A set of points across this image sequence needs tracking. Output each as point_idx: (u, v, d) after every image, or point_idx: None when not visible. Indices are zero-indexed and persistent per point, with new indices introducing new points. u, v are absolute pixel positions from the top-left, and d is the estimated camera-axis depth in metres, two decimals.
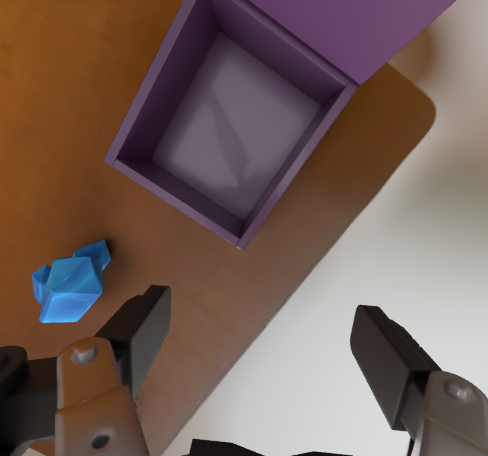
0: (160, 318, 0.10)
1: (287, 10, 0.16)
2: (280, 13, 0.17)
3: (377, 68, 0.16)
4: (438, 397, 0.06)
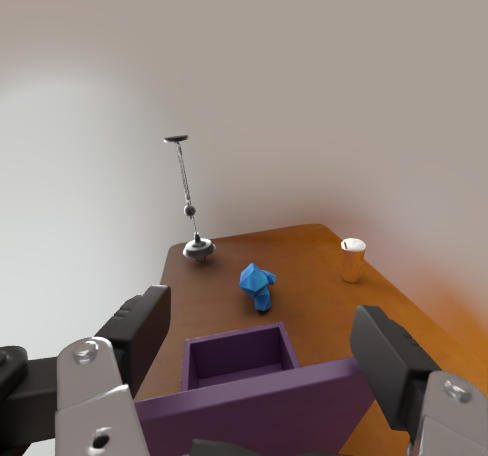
0: (160, 318, 0.10)
1: None
2: None
3: None
4: (438, 397, 0.06)
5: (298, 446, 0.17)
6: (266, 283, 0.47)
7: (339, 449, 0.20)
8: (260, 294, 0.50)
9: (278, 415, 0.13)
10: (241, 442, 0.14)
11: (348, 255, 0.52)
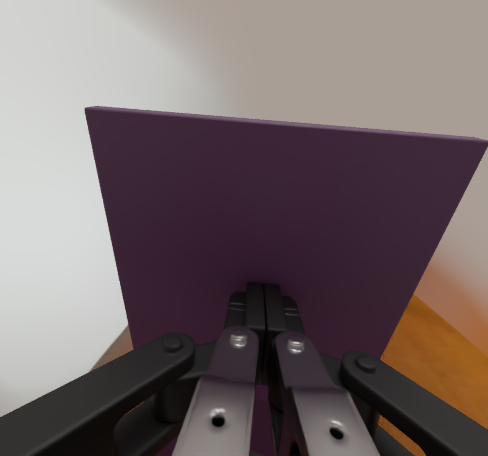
0: None
1: None
2: None
3: None
4: (287, 359, 0.07)
5: (313, 339, 0.14)
6: None
7: None
8: None
9: (310, 209, 0.10)
10: (251, 269, 0.12)
11: None
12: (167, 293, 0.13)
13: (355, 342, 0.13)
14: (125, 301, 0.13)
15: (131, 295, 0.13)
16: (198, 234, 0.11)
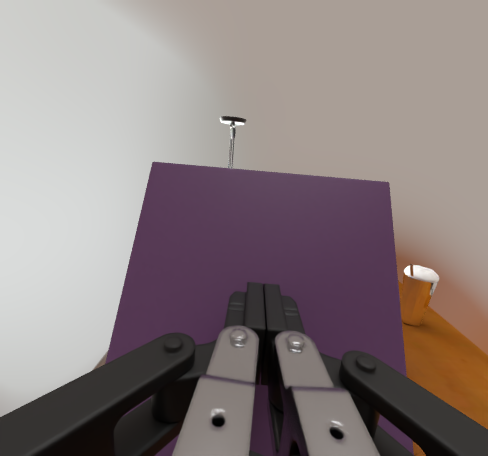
0: None
1: None
2: None
3: None
4: (287, 359, 0.07)
5: None
6: None
7: None
8: None
9: (293, 222, 0.14)
10: (250, 278, 0.13)
11: (413, 285, 0.40)
12: (165, 310, 0.12)
13: None
14: (116, 324, 0.12)
15: (127, 314, 0.12)
16: (207, 243, 0.14)
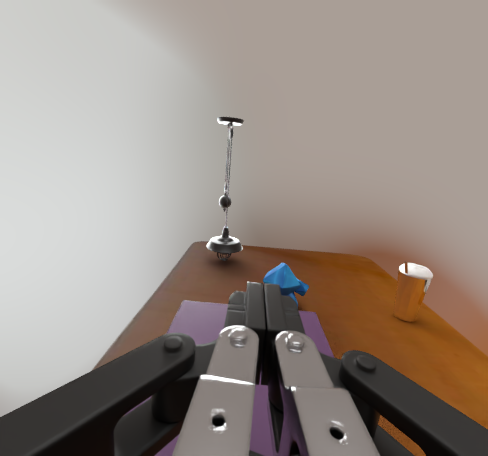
0: None
1: None
2: None
3: None
4: (287, 359, 0.07)
5: None
6: (297, 285, 0.37)
7: None
8: None
9: None
10: None
11: (407, 282, 0.41)
12: None
13: None
14: None
15: None
16: (214, 331, 0.22)
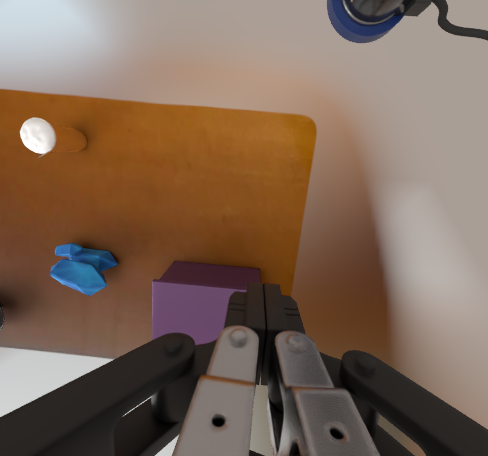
0: None
1: None
2: None
3: None
4: (288, 359, 0.07)
5: (218, 310, 0.40)
6: (93, 268, 0.41)
7: None
8: (96, 265, 0.45)
9: (171, 314, 0.40)
10: (190, 328, 0.41)
11: (56, 149, 0.37)
12: None
13: (218, 297, 0.39)
14: None
15: None
16: None
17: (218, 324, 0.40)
